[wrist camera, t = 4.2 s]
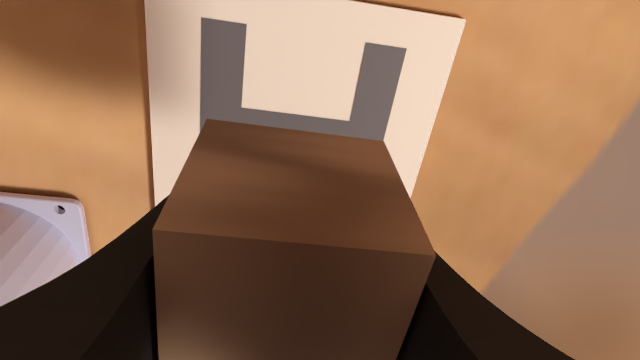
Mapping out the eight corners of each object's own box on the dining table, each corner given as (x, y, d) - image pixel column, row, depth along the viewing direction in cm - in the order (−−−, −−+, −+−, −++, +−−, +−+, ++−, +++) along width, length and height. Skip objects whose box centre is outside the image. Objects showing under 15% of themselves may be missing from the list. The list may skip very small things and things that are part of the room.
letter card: (157, 219, 22) (155, 223, 21) (145, -34, 16) (142, -34, 15) (394, 240, 23) (396, 244, 23) (463, 18, 17) (466, 19, 17)
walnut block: (202, 258, 14) (160, 405, 9) (206, 118, 11) (152, 229, 7) (350, 271, 14) (374, 414, 10) (383, 141, 12) (436, 256, 7)
